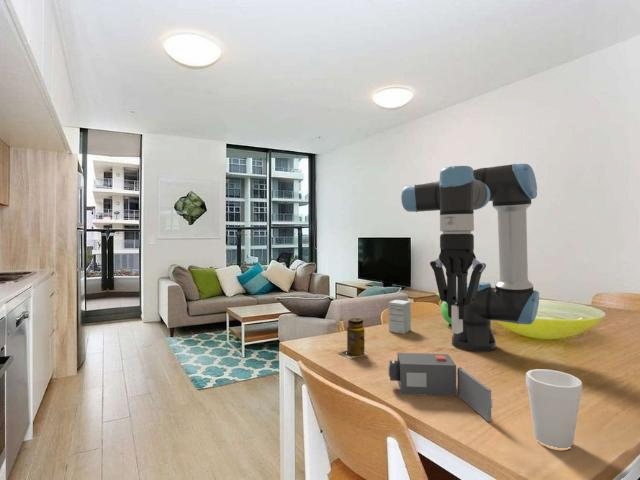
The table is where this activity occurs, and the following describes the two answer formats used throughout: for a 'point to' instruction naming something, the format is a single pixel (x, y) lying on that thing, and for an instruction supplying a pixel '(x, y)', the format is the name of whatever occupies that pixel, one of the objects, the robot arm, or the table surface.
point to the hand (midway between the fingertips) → (457, 332)
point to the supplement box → (399, 316)
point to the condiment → (355, 339)
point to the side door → (475, 394)
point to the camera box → (424, 374)
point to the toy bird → (445, 311)
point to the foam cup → (554, 405)
